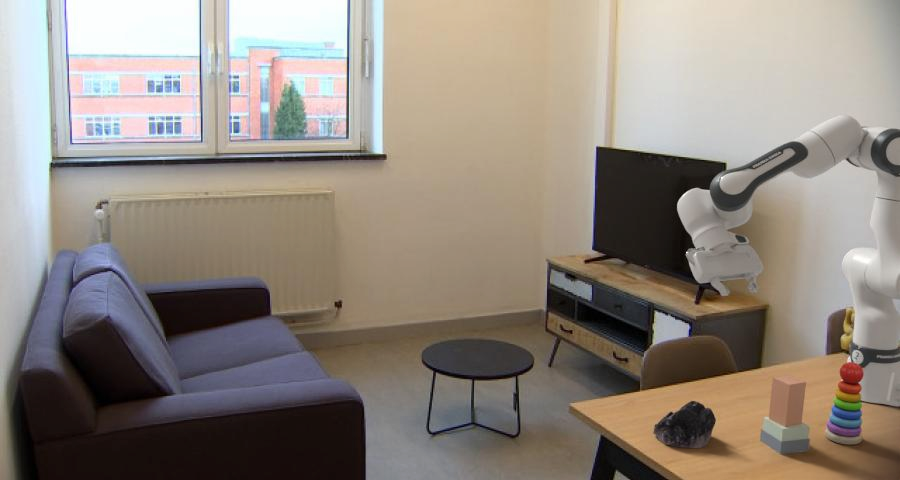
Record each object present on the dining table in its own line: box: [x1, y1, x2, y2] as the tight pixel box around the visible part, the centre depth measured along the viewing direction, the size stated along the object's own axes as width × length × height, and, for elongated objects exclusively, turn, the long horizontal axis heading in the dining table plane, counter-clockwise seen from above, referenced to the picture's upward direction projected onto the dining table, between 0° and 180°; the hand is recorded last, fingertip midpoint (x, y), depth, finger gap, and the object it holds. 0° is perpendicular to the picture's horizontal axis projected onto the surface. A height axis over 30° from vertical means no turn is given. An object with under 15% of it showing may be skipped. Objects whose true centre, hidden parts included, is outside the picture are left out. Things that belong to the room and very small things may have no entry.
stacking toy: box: [824, 362, 864, 446], centre depth 203 cm, size 8×8×19 cm
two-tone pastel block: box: [759, 416, 810, 455], centre depth 200 cm, size 8×8×6 cm
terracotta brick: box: [768, 374, 807, 427], centre depth 199 cm, size 5×5×10 cm
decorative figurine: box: [840, 306, 855, 354], centre depth 268 cm, size 10×8×15 cm
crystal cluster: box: [653, 400, 717, 449], centre depth 203 cm, size 13×14×10 cm
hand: (741, 292), depth 213 cm, fingers open, 8 cm apart
